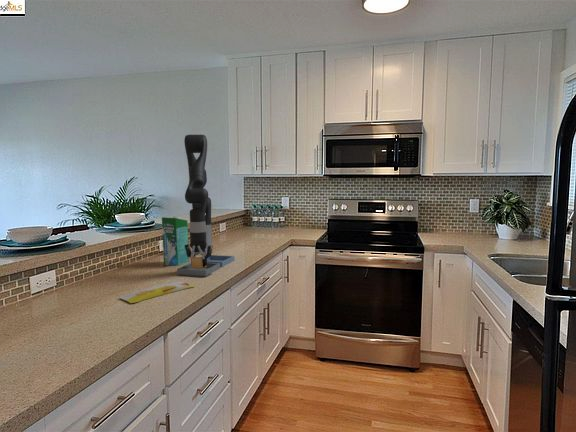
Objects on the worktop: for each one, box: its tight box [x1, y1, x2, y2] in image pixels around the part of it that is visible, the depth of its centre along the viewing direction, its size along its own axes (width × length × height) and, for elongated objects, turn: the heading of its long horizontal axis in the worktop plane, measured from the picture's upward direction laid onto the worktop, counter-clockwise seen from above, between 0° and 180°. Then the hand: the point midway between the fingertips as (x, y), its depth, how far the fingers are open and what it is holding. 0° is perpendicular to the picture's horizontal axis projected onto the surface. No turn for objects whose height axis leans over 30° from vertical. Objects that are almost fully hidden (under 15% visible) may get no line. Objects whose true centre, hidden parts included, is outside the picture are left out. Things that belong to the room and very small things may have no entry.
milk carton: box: [161, 216, 190, 267], centre depth 192 cm, size 9×9×25 cm
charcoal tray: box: [176, 262, 221, 278], centre depth 176 cm, size 15×15×3 cm
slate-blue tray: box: [207, 254, 235, 268], centre depth 193 cm, size 15×15×3 cm
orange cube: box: [190, 255, 207, 269], centre depth 176 cm, size 5×5×5 cm
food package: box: [118, 281, 195, 304], centre depth 146 cm, size 27×2×10 cm
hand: (199, 266), depth 176 cm, fingers closed on orange cube, 5 cm apart
